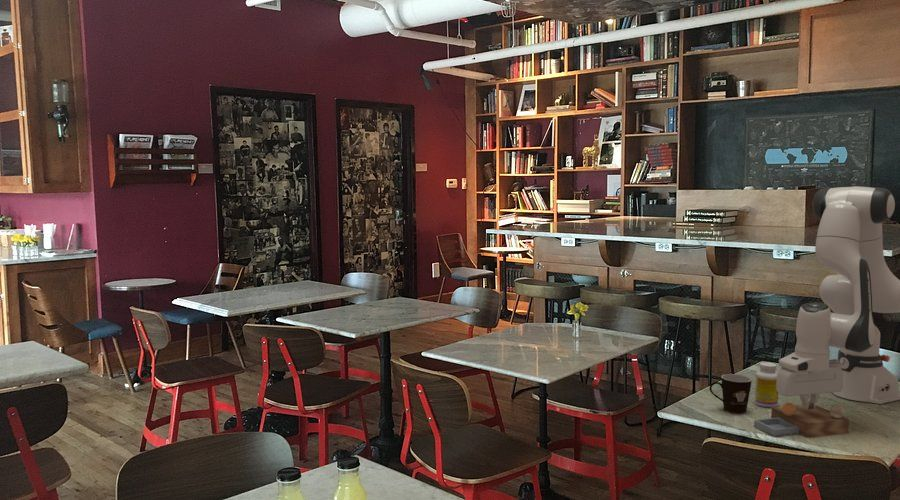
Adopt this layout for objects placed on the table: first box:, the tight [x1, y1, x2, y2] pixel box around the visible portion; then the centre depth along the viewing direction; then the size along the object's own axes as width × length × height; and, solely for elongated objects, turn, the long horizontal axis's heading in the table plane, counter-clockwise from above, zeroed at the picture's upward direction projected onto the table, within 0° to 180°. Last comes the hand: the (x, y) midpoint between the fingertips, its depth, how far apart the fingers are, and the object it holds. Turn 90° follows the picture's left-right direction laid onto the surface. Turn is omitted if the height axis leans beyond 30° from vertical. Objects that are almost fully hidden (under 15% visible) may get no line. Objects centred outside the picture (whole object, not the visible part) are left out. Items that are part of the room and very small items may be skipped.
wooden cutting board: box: [770, 404, 850, 439], centre depth 207 cm, size 14×14×4 cm
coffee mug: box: [709, 373, 753, 415], centre depth 222 cm, size 12×9×10 cm
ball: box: [781, 402, 796, 416], centre depth 205 cm, size 4×4×4 cm
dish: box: [753, 417, 800, 438], centre depth 204 cm, size 8×8×2 cm
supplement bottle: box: [754, 361, 779, 408], centre depth 227 cm, size 7×7×13 cm
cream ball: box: [828, 404, 845, 418], centre depth 203 cm, size 4×4×4 cm
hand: (808, 408), depth 207 cm, fingers closed
